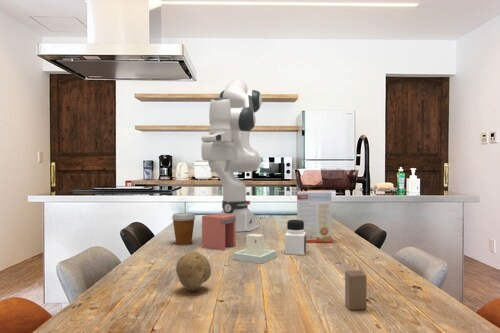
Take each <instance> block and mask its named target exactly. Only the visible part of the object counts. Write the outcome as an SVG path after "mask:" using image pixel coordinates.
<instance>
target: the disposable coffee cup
mask: <svg viewBox="0 0 500 333" xmlns="http://www.w3.org/2000/svg"><path fill="white" fill-rule="evenodd" d="M171 219H172V223H173V229H174V240H175V244H176V245H178V246H188V245H191V244H192V243H193V234H194V227H195V226H194V225H195V219H196V216H195V213H193V212H178V213H177V212H176V213H173V214H172V217H171Z"/></svg>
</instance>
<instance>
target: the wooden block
mask: <svg viewBox="0 0 500 333" xmlns="http://www.w3.org/2000/svg"><path fill="white" fill-rule="evenodd" d="M344 288H345V289H344V290H345V291H344V293H345V294H344V295H345V296H344V300H345V301H344V304H345V305H346V307H347V308H348V310H350V311H359V310H360V311H365V310H367V274H365V273H364V272H363V271H361V270H346V271H345V273H344Z"/></svg>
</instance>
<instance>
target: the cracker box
mask: <svg viewBox="0 0 500 333" xmlns="http://www.w3.org/2000/svg"><path fill="white" fill-rule="evenodd" d="M296 198H297V199H296V219H297V220H302V221H303V222H304V231H303V232H306V243H332V240H333V239H332V192H331V191H329V190H328V191H327V190H325V191H324V190H320V191H319V190H317V191H316V190H300V191H299V190H298V191H296Z"/></svg>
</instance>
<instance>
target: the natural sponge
mask: <svg viewBox="0 0 500 333" xmlns="http://www.w3.org/2000/svg"><path fill="white" fill-rule="evenodd" d="M175 271H176V274H177V278H178V280H179V282H180V284H181V285H182V286H183V287H184V288H185V289H186V290H188V291H189V292H194V291H197V290H198V289H199V288H200V287H201V286H202V285H203V284H204V283H205V282H207V281H208V280H209V279H210V277H211V275H212V267H211V263H210V262H209V260H208V258H207V257H206V256H205V255H203V254H202V253H200V252H197V251H190V252H187V253H185V254H183V255H182V256H181V257H180V258H179V259H178V260H177V263H176V267H175Z"/></svg>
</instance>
